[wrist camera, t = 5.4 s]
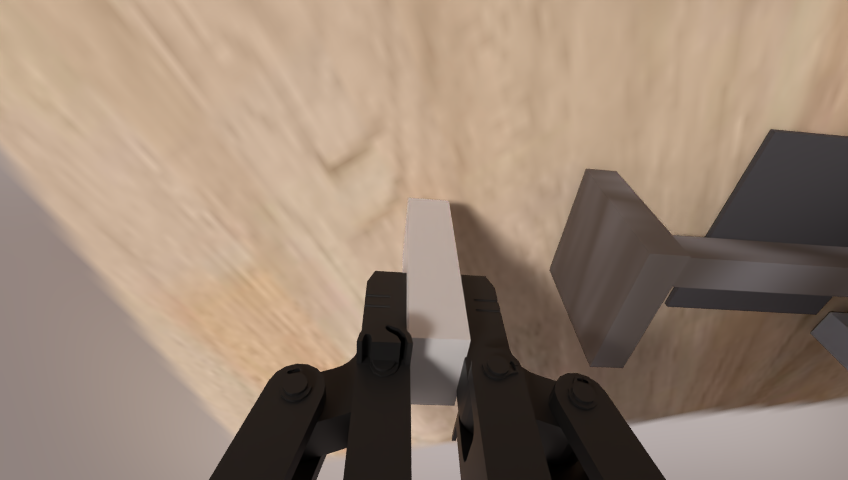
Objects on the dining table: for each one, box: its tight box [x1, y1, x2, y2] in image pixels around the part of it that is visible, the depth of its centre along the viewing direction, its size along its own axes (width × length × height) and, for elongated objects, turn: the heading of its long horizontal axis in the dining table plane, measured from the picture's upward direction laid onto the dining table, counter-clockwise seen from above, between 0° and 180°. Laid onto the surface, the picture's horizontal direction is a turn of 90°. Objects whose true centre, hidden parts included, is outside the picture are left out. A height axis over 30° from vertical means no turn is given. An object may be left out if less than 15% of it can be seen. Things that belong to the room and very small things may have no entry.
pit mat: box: [665, 129, 848, 315], centre depth 19 cm, size 8×9×1 cm
